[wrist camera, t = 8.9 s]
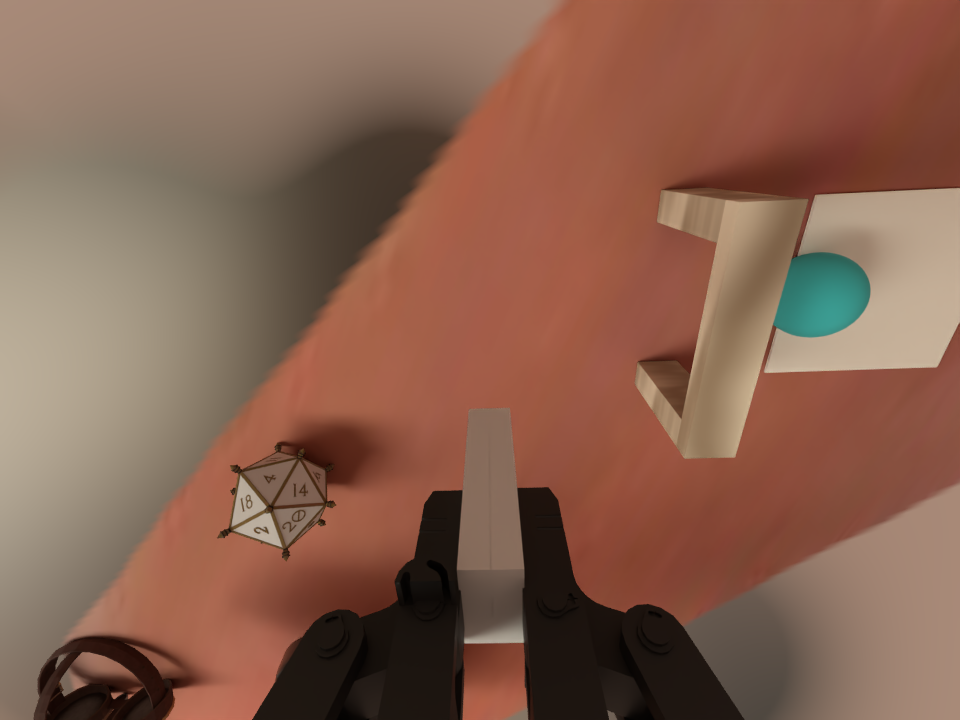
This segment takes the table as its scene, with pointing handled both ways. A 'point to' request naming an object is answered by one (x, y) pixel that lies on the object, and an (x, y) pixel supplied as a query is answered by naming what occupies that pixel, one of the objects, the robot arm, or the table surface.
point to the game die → (278, 499)
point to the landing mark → (885, 280)
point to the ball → (821, 295)
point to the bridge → (724, 314)
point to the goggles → (103, 687)
